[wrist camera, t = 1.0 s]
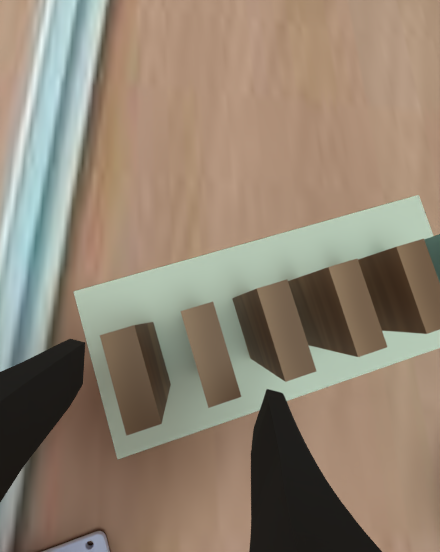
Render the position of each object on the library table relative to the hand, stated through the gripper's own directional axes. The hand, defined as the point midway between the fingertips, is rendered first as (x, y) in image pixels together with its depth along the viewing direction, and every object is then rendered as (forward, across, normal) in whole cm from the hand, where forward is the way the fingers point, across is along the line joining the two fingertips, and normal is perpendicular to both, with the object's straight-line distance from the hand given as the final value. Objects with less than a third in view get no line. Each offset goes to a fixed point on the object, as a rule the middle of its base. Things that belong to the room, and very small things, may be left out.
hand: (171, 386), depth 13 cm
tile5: (+15, -10, 0) cm, 18 cm away
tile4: (+13, -7, +2) cm, 15 cm away
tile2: (+11, 0, +5) cm, 12 cm away
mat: (+13, -5, +2) cm, 14 cm away
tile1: (+9, +3, +6) cm, 12 cm away
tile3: (+12, -3, +3) cm, 13 cm away
